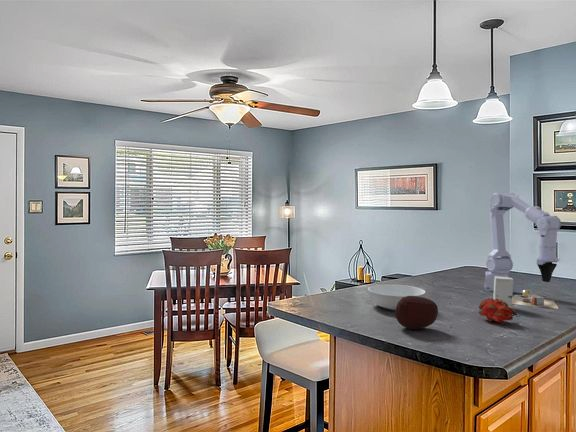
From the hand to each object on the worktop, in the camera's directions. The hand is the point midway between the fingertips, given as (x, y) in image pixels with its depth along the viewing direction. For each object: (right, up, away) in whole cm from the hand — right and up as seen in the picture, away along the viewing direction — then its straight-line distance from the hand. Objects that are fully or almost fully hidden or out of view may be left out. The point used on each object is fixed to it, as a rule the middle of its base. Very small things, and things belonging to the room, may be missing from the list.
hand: (546, 281), depth 173 cm
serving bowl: (-61, -9, -8) cm, 62 cm away
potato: (-61, -10, -35) cm, 71 cm away
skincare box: (-21, -10, -8) cm, 25 cm away
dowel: (-7, -9, -3) cm, 11 cm away
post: (-5, -8, +5) cm, 11 cm away
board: (-4, -9, +3) cm, 11 cm away
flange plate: (-5, -8, +2) cm, 10 cm away
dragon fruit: (-31, -10, -25) cm, 41 cm away
